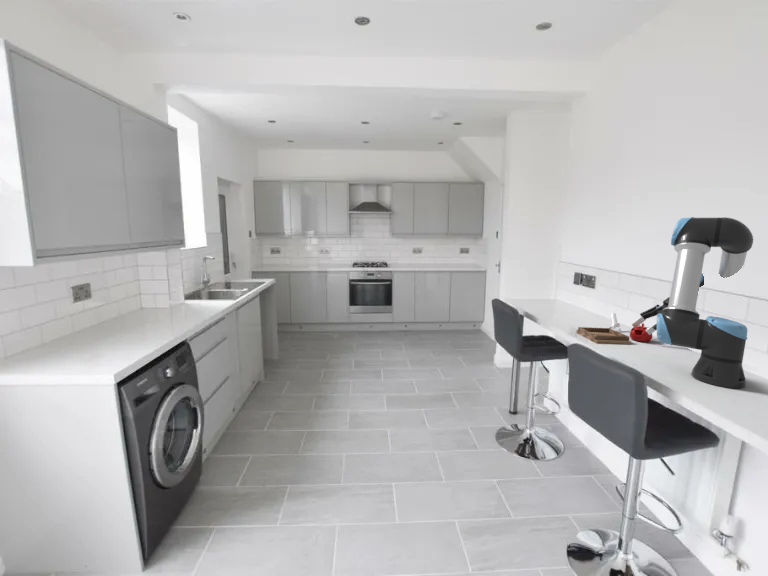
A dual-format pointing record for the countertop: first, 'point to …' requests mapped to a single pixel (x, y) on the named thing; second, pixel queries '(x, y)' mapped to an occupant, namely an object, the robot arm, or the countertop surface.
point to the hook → (615, 323)
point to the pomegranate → (640, 334)
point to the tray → (603, 335)
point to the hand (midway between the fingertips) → (639, 329)
